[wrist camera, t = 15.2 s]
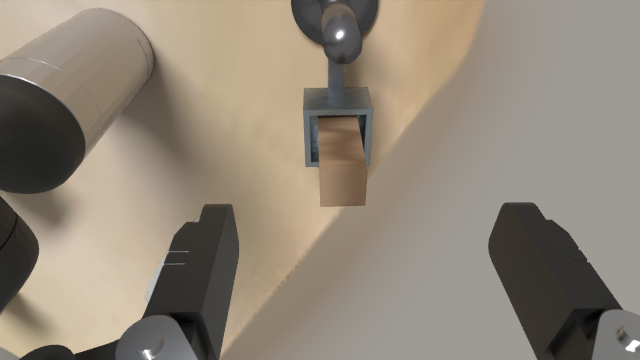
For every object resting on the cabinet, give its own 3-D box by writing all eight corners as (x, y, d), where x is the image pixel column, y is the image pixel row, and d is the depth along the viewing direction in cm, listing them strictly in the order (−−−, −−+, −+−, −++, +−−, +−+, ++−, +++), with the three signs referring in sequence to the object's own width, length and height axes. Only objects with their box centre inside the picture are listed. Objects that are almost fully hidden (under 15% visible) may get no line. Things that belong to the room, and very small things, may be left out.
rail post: (318, 136, 44) (320, 206, 35) (317, 104, 42) (319, 170, 33) (353, 135, 44) (365, 205, 35) (354, 103, 42) (367, 169, 33)
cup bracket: (297, 121, 50) (294, 190, 39) (288, -49, 38) (280, -18, 27) (368, 119, 50) (384, 189, 39) (380, -50, 39) (408, -20, 27)
